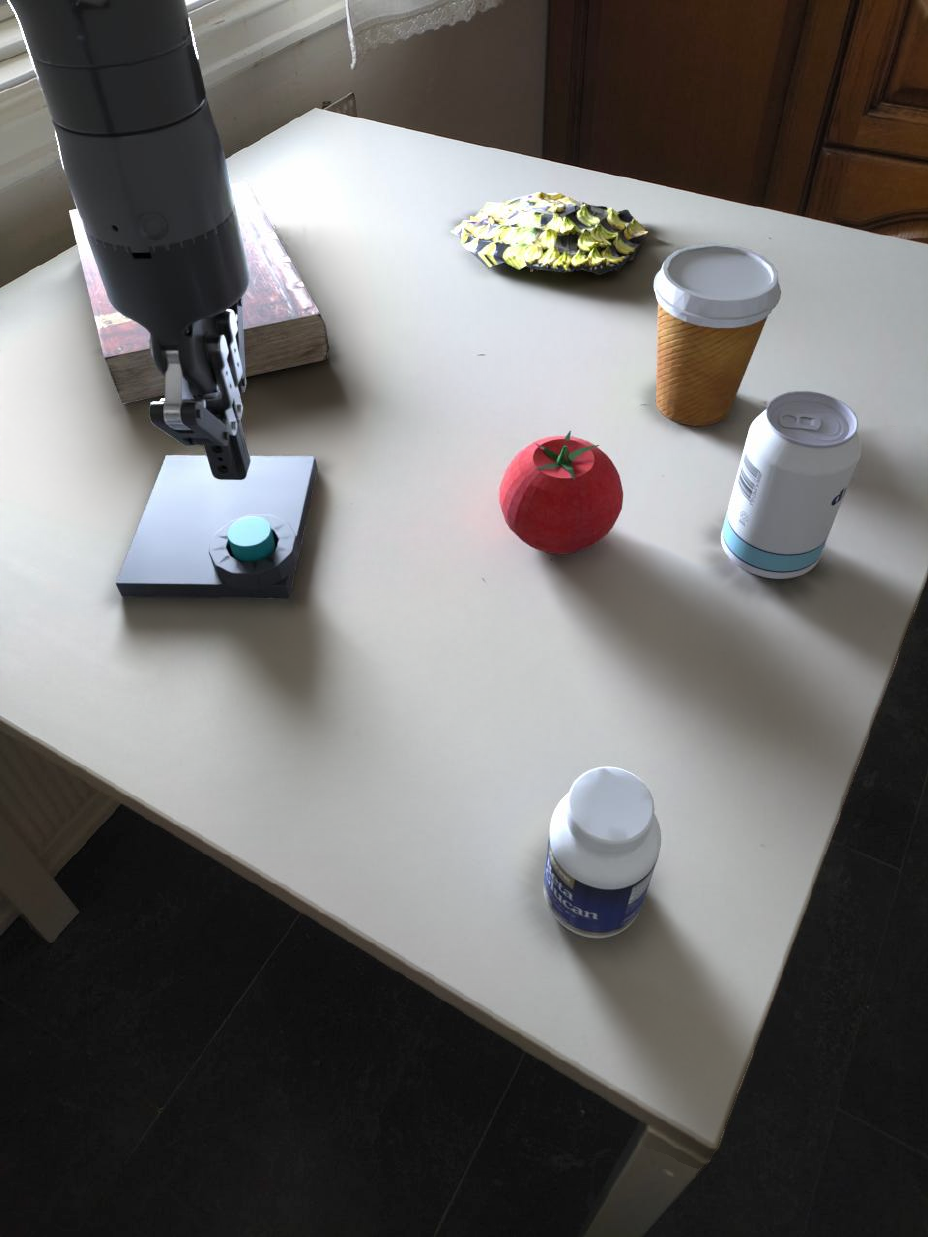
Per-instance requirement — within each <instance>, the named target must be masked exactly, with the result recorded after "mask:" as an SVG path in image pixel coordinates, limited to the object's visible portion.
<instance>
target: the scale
mask: <svg viewBox="0 0 928 1237" xmlns="http://www.w3.org/2000/svg"><path fill="white" fill-rule="evenodd" d="M249 456H250V459H251V462H250V465H249V469H248V472H247V475H246V478H245V479H243V480H219V479H217V478H215V477H214V476H213V475H212V472H211V469H210V465H209V462H208V459H207V456H206V455H190V454H189V455H188V454H187V455H185V454H183V455H177V454H175V455H172V454H171V455H170V454H169V455H165V457H164V460H163V462H162V464H161V467H160V469H159V472H158V475H157V477H156V480H155V483H154V486H153V487H152V490H151V492H150V495H149V498H148V500H147V503H146V505H145V508H144V509H143V512H142V515H141V518H140V521H139V523H138V525H137V528H136V530H135V533H134V535H133V538H132V541H131V543H130V546H129V548H128V550H127V551H128V552H127V554H126V556H125V559H124V561H123V563H122V566H121V569H120V571H119V574H118V576H117V579H116V581H115V585H116V588H117V591H118V592H119V594H120V596H121V597H122V598H193V599H195V598H198V599H199V598H200V599H205V598H206V599H214V598H215V599H265V600H266V599H267V600H269V599H274V600H275V599H276V600H279V599H280V600H281V599H282V600H290V598H291V593H292V588H293V584H294V579H295V575H296V570H297V567H298V566H297V565H298V561H299V557H300V552H301V547H302V544H303V538H304V533H305V529H306V525H307V520H308V515H309V511H310V507H311V501H312V498H313V492H314V489H315V484H316V479H317V474H318V470H319V468H318V464H317V458H316V456H315V455H313V456H312V455H307V456H305V455H249ZM246 517H260V518H263V519H265V520H266V521H267V522H268V523H269V524H270V526H271V529H272V533H273V537H274V541H275V548H274V550H273V552H272V553H271V554H270V555H269V556H268V557H266V558H264V559H261V560H258V561H256V562H243V561H240V560H238V559H237V558H235V556H234V555H233V553H232V550H231V547H230V544H229V540H228V537H227V533H228V530H229V528H230V526H231V525H232V524H233V523H235V522H236V521H238V520H240V519H242V518H246Z"/></svg>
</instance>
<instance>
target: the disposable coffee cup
mask: <svg viewBox="0 0 928 1237" xmlns="http://www.w3.org/2000/svg"><path fill="white" fill-rule="evenodd" d="M653 290H654V293H655V298H656V301H657V327H656V329H657V331H656V333H657V335H656V336H657V337H656V338H657V339H656V340H657V341H656V381H655V382H656V387H655V392H656V393H655V403H656V404H655V405H656V407H657V409H658V410H659V412H660V413H661V414H662V415H663V416H665V417H666V418H668V419H670V420H671V421H674V422H676V423H678V424H682V425H687V426H694V427H695V426H701V427H702V426H709V425H710V426H711V425H714V424H716V423H719V422H722V421H723V420H724V419H726V418H727V417H728V415H730V412H731V410H732V406H733V404H734V402H735V400H736V397H737V394H738V391H739V389H740V386H741V384H742V381H743V379H744V377H745V374H746V372H747V370H748V367H749V364H750V362H751V359H752V357H753V354H754V352H755V349H756V348H757V344H758V342H759V339H760V337H761V335H762V332H763V329H764V327H765V325H766V322H767V320H768V317H769V315H770V314H772V311H773V310H774V309H775V308H776V307H777V305H779V302H780V299H781V296H782V289H781V286H780V283H779V271H778V270H777V268H776V265H774V263H773V262H772V261H771V260H769V259H768V258H767V257H765V256H764V255H762V254H760V253H758V252H755V251H754V250H752V249H748V248H745V247H741V246H738V245H732V244H723V243H722V244H721V243H701V244H694V245H689V246H686V247H683V248H680V249H678V250H675V251H673V252H672V253H671V254H669V255H668V256H667V257H666V259H665V260H664V261H663V264H662V266H661V268H660V270H659V271H658V272H657V273H656V275H655V277H654V280H653Z"/></svg>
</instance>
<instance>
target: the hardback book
mask: <svg viewBox="0 0 928 1237" xmlns="http://www.w3.org/2000/svg"><path fill="white" fill-rule="evenodd" d="M231 187H232V191H233V196H234V201H235V205H236V210H237V214H238V219H239V224H240V229H241V233H242V238H243V242H244V247H245V252H246V256H247V261H248V265H249V270H250V282H249V286H248V288H247V290H246V292H245V293H244V295H243V296H242V299H243V330H244V353H245V377H246V378H249V377H253V376H258V375H262V374H267V373H271V372H276V371H280V370H284V369H289V368H294V367H298V366H303V365H308V364H312V363H318V362H321V361H322V362H323V361H328V358H329V349H330V346H329V340H328V334H327V328H326V324H325V321H324V319H323V317H322V315H321V313H320V310H319V309H318V307H317V305H316V303H315V302H314V300H313V298H312V296H311V295H310V293H309V291H308V289H307V288H306V285H305V284H304V282H303V280H302V278H301V276H300V275H299V272H298V271H297V270H296V267H295V266H294V264H293V262H292V259H291V258H290V257H289V255H288V253H287V250H286V249H285V247H284V246H283V244H282V242H281V240H280V239H279V237H278V235H277V233H276V232H275V230H274V228H273V226H272V224H271V222H270V220H269V218H268V217H267V214H266V213H265V211H264V209H263V207H262V206H261V204H260V202H259V201H258V199H257V197H256V195H255V193H254V191H253V189H252V188H251V186H250V184H249V183H248V181H246V180H245V181H241V182H234V183H231ZM68 212H69V217H70V220H71V224H72V225H71V226H72V228H73V233H74V237H75V241H76V245H77V250H78V254H79V257H80V262H81V266H82V271H83V275H84V279H85V283H86V287H87V291H88V296H89V299H90V305H91V308H92V313H93V316H94V320H95V325H96V329H97V332H98V339H99V342H100V346H101V351H102V355H103V359H104V360H105V363H106V366H107V369H108V371H109V374H110V377H111V379H112V382H113V385H114V388H115V390H116V393H117V395H118V398H119V400H120V404H121V405H124V404H129V403H132V402H133V403H134V402H138V401H144V400H147V399H152V398H156V397H160V396H161V397H162V396H165V378H164V377H163V376H162V375H161V374H160V373H159V372H158V370H157V369H156V367H155V364H154V361H153V357H152V355H151V352H150V346H149V340H150V333H149V331H148V330H147V329H145V328H144V327H143V326H141V325H140V324H138V323H137V322H135V321H133V320H131V319H129V318H127V317H125V316H124V315H122V314H121V313H119V312H118V311H117V310H116V309H115V308H114V307H113V306H112V304H111V303H110V301H109V299H108V296H107V293H106V291H105V288H104V285H103V282H102V279H101V276H100V274H99V271H98V268H97V265H96V262H95V259H94V256H93V254H92V251H91V248H90V245H89V242H88V239H87V237H86V234H85V231H84V228H83V225H82V222H81V219H80V216H79V213H78V211H77V208H76V209H71V210H69V211H68Z"/></svg>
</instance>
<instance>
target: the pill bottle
mask: <svg viewBox="0 0 928 1237" xmlns="http://www.w3.org/2000/svg"><path fill="white" fill-rule="evenodd" d="M655 810H656V809H655V802H654V797H653V795H652V792H651V790H650V789H649V787H648V786H647V785H646V783H644V781H643V780H642V779H641V778H639V777H638V776H637V775H635V774H634V773H632V772H630V771H628V770H627V769H623V768H620V767H616V766H599V767H595V768H592V769H590V770H587V771H586V772H584V773H582V774H580V776H579V777H578V778H577V779H576V780H575V781H574V782H573V784H572V785H571V787H570V789H569V792H568V793H567V794H566V795H565V796H564V797H563V798H561V800H560V801H559V802H558V804H557V805H556V807H555V809H554V811H553V813H552V816H551V819H550V824H549V832H548V840H547V849H546V859H545V865H544V866H545V867H544V874H543V895H544V900H545V902H546V904H547V907H548V909H549V911H550V913H551V914H552V916H553V917H554V918H555V919H556V920H557V922H559V924H560V925H561V926H563V927H564V928H566V929H567V930H568V931H570V932H572V933H574V934H576V935H578V936H582V937H585V938H590V939H606V938H610V937H614V936H616V935H619V934H620V933H622V932H623V931H625V930H627V929H628V928H629V927H630V926H631V925H632V924H633V923H634V922H635V921H636V919H637V917H638V916H639V914H640V912H641V910H642V907H643V905H644V902H645V898H646V896H647V892H648V889H649V886H650V883H651V880H652V877H653V873H654V871H655V867H656V864H657V862H658V858H659V856H660V855H659V854H660V851H661V846H662V831H661V827H660V823H659V820H658V817H657V814H656V813H655Z"/></svg>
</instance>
